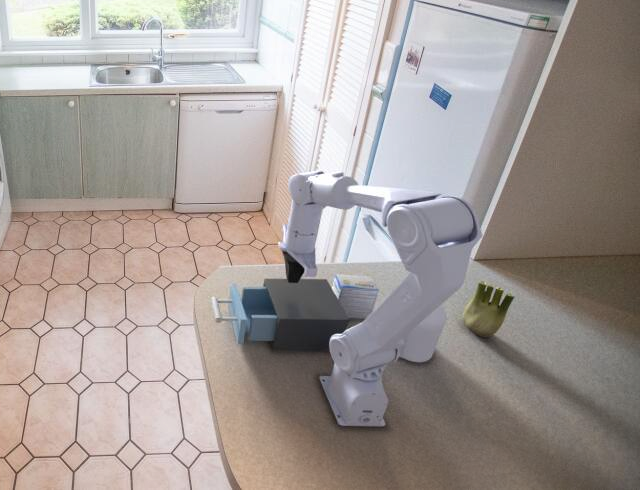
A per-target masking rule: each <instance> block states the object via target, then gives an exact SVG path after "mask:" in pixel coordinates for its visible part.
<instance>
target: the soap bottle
mask: <svg viewBox="0 0 640 490" xmlns="http://www.w3.org/2000/svg"><path fill="white" fill-rule="evenodd" d="M447 319H448V318H447V314H446V311H445V308H444V307H443V305H442V304H441V305H440V306H439V307H438V308H437V309H435V310H434V311H433V312H432V313H431V314H430V315H429V316H427V317H426V318H425V319H424V320H423V321H422V322H421V323H419V324H418V325H417V326H416V327H415V328H414V329H412V330H411V331H410V332H409V333H408V334H407V335H406V336H404V337H403V340H404V342H405V345H404V346H403V347H402V348H401V350H400V354H399V358H400V359H404V360H406V361H409V362H413V363H424V362H425V363H426V362H427V361H429V360H430V359H432V357H433V355H434V353H435V350H436V347H437V344H438V342H439V339H440V337H441V335H442V332H443V330H444V327H445V325H446V322H447Z"/></svg>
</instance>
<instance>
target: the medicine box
mask: <svg viewBox="0 0 640 490" xmlns="http://www.w3.org/2000/svg"><path fill="white" fill-rule="evenodd" d="M331 288H332V290H333V291H334V293H335V295H336V297H337V299H338V300H339V302H340V304H341V306H342V307H343V309H344V311H345V313H346V315H347V316H348V318H349V319H359V320H360V319H361V320H365V319H366V318H367V317H368V316H369V315H370V314H371V313H372V312H373V311H374V310H375V305H376V302H377V299H378V296H379V293H380V289H379V288H378V286H377V284H376V283H375V281H374V279H373V278H372V276H364V275H349V274H335V275H334V278H333V282H332V286H331Z"/></svg>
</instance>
